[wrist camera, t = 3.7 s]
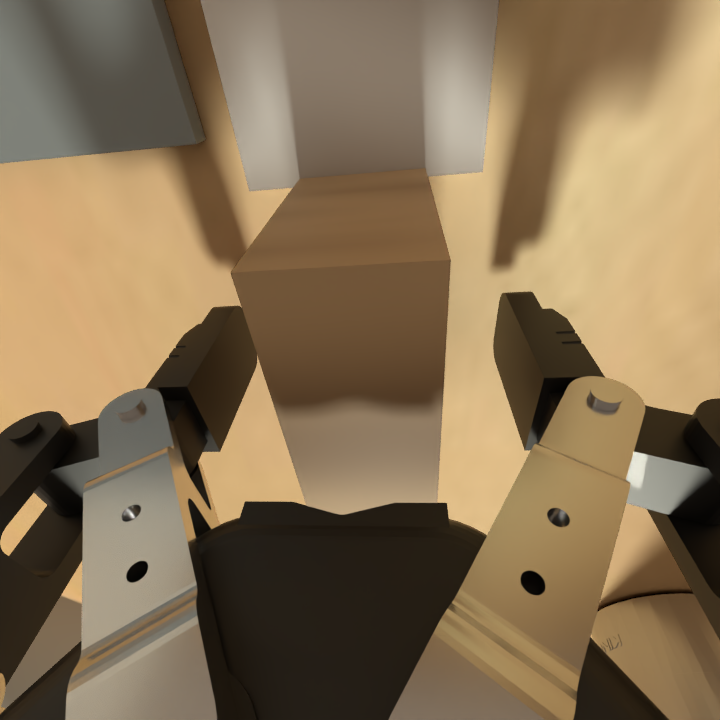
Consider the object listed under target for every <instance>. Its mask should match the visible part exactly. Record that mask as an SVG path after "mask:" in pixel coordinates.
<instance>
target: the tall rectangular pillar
mask: <svg viewBox="0 0 720 720" xmlns="http://www.w3.org/2000/svg"><path fill="white" fill-rule="evenodd" d="M200 1H201V5H202V9H203V13H204V16H205V20H206V24H207V28H208V32H209V36H210V40H211V44H212V48H213V51H214V55H215V59H216V63H217V67H218V71H219V75H220V79H221V83H222V86H223V90H224V94H225V98H226V102H227V106H228V110H229V114H230V118H231V121H232V125H233V129H234V133H235V137H236V141H237V145H238V149H239V153H240V157H241V160H242V164H243V168H244V172H245V176H246V180H247V184H248V188H249V191H259V190H271V189H283V188H292V190H291V191H290V193H289V194H288V195H287V197H286V198H285V199H284V201H283V202H282V203H281V205H280V206H279V208H278V209H277V210H276V212H275V213H274V214H273V216H272V217H271V218H270V220H269V221H268V222H267V224H266V225H265V227H264V228H263V229H262V231H261V232H260V233H259V235H258V236H257V237H256V239H255V240H254V241H253V243H252V244H251V246H250V247H249V248H248V250H247V251H246V252H245V254H244V255H243V256H242V258H241V259H240V261H239V262H238V263H237V265H236V266H235V267H234V269H233V270H232V271H231V276H232V279H233V282H234V285H235V288H236V291H237V294H238V297H239V300H240V303H241V306H242V309H243V312H244V315H245V319H246V322H247V325H248V328H249V331H250V334H251V337H252V340H253V343H254V346H255V349H256V352H257V355H258V358H259V361H260V365H261V368H262V371H263V374H264V377H265V380H266V383H267V386H268V389H269V392H270V395H271V398H272V401H273V404H274V407H275V410H276V414H277V417H278V420H279V423H280V426H281V429H282V432H283V435H284V438H285V441H286V444H287V447H288V450H289V453H290V456H291V460H292V463H293V466H294V469H295V472H296V475H297V478H298V481H299V484H300V487H301V490H302V493H303V496H304V499H305V502H306V505H307V506H309V507H313V508H317V509H320V510H324V511H328V512H331V513H335V514H340V515H344V514H349V513H353V512H358V511H362V510H366V509H370V508H375V507H379V506H383V505H387V504H391V503H437V497H438V479H439V461H440V443H441V425H442V407H443V389H444V371H445V353H446V334H447V316H448V298H449V280H450V262H451V259H450V256H449V252H448V248H447V245H446V241H445V237H444V234H443V230H442V226H441V223H440V219H439V215H438V212H437V208H436V204H435V201H434V197H433V194H432V190H431V186H430V183H429V179H428V176H441V175H453V174H465V173H477V172H483V164H484V154H485V144H486V133H487V123H488V112H489V102H490V91H491V81H492V70H493V60H494V49H495V39H496V29H497V18H498V8H499V0H200Z"/></svg>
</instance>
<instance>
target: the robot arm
mask: <svg viewBox="0 0 720 720" xmlns="http://www.w3.org/2000/svg"><path fill="white" fill-rule="evenodd" d="M493 349H494V358H495V362H496V365H497V368H498V371H499V374H500V377H501V380H502V383H503V386H504V389H505V392H506V395H507V398H508V401H509V404H510V407H511V410H512V413H513V416H514V419H515V422H516V425H517V428H518V431H519V434H520V437H521V440H522V443H523V446H524V449H525V450H531V451H530V453H529V455H528V457H527V459H526V461H525V463H524V465H523V467H522V469H521V471H520V473H519V475H518V476H517V478H516V480H515V482H514V484H513V486H512V488H511V490H510V492H509V494H508V496H507V498H506V500H505V502H504V504H503V506H502V508H501V510H500V512H499V513H498V515H497V517H496V519H495V521H494V523H493V525H492V527H491V529H490V531H489V533H488V535H486V534H484V533H482V532H480V531H478V530H477V529H475V528H473V527H471V526H468V525H466V524H463V523H461V522H458V521H454V520H451V519H449V518H448V510H447V503H391V504H387V505H383V506H379V507H375V508H370V509H366V510H362V511H358V512H353V513H349V514H344V515H340V514H335V513H331V512H328V511H324V510H320V509H317V508H313V507H309V506H306V505H302V504H298V503H295V502H245V504H244V507H243V510H242V513H241V516H240V518H237V519H234V520H231V521H228V522H226V523H223V524H221V525H220V522H219V520H218V517H217V514H216V510H215V507H214V504H213V500H212V497H211V494H210V490H209V487H208V484H207V480H206V477H205V474H204V470H203V467H202V465H201V463H200V462H199V459H200V456H201V454H202V452H220V450H221V448H222V446H223V443H224V441H225V439H226V436H227V434H228V432H229V429H230V427H231V425H232V422H233V420H234V418H235V415H236V413H237V411H238V408H239V406H240V404H241V401H242V399H243V397H244V394H245V392H246V389H247V387H248V385H249V382H250V380H251V378H252V375H253V373H254V371H255V368H256V365H257V352H256V349H255V346H254V343H253V340H252V337H251V334H250V331H249V328H248V325H247V322H246V319H245V315H244V312H243V309H242V308H241V307H240V306H225V307H214V308H212V309H211V311H210V312H209V314H208V315H207V316H206V318H205V319H204V321H203V322H202V324H198V325H196V326H195V327H194V328H192V329H191V330H190V331H188V332H187V333H186V334H184V335H183V337H182V338H181V340H180V341H179V342H178V344H177V345H176V348H174V349H173V351H172V352H171V353H170V355H169V358H167V359H166V360H165V362H164V363H163V364H162V366H161V367H160V368H159V370H158V371H157V373H156V374H155V375H154V377H153V378H152V379H151V381H150V382H149V383H148V385H147V386H146V388H143V389H137V390H133V391H130V392H127V393H125V394H123V395H121V396H119V397H117V398H116V399H114V400H113V401H112V402H110V403H109V404H108V405H107V406H106V407H105V408H104V409H103V410H102V412H101V413H100V415H99V418H97V419H93V420H89V421H85V422H81V423H77V424H73V425H69V424H68V423H67V422H66V421H65V419H64V418H63V417H62V416H61V415H60V414H59V413H57V412H53V411H46V412H40V413H36V414H33V415H30V416H27V417H25V418H23V419H21V420H19V421H17V422H15V423H14V424H12V425H11V426H9V427H8V428H7V429H5V430H4V431H3V432H2V433H1V434H0V539H1V535H2V533H3V531H4V529H5V528H6V526H7V525H8V524H9V522H10V521H11V520H12V519H13V517H14V516H15V515H16V514H17V512H18V511H19V510H20V509H21V507H22V506H23V505H24V504H25V503H26V501H27V500H28V499H29V498H30V496H31V495H32V494H33V493H35V494H36V495H37V496H38V497H39V498H40V499H41V500H43V501H44V502H45V503H46V504H47V507H46V508H45V509H44V511H43V512H42V513H41V515H40V516H39V517H38V519H37V520H36V521H35V523H34V524H33V525H32V526H31V528H30V529H29V530H28V532H27V533H26V534H25V536H24V537H23V538H22V540H21V541H20V542H19V544H18V545H17V546H16V548H15V549H14V550H13V552H12V553H11V554H10V556H7V555H6V554H5V553H4V552H3V551H2V550H1V547H0V720H720V399H711V400H707V401H704V402H702V403H701V404H700V405H699V406H698V407H697V409H696V410H695V412H694V414H693V415H689V414H684V413H679V412H674V411H668V410H663V409H658V408H653V407H649V406H646V405H645V404H644V402H643V400H642V398H641V397H640V396H639V395H638V394H637V393H636V392H635V391H634V390H633V389H631V388H630V387H628V386H627V385H625V384H623V383H621V382H618V381H616V380H613V379H609V378H605V376H604V375H603V373H602V372H601V370H600V369H599V367H598V366H597V364H596V363H595V361H594V359H593V358H592V356H591V355H590V353H589V352H588V350H587V349H586V347H585V346H584V344H582V343H581V339H580V338H579V336H578V335H577V333H575V330H574V329H573V327H572V326H571V324H570V323H569V321H568V319H567V318H565V317H564V316H562V315H561V314H559V313H558V312H556V311H555V310H553V309H542V308H541V306H540V304H539V302H538V301H537V299H536V297H535V296H534V294H533V293H532V292H512V293H502V295H501V297H500V301H499V308H498V314H497V321H496V328H495V335H494V344H493ZM626 503H627V504H631V505H635V506H638V507H642V508H645V509H647V510H648V512H649V514H650V515H651V517H652V519H653V521H654V523H655V524H656V526H657V528H658V530H659V532H660V533H661V535H662V537H663V539H664V541H665V542H666V544H667V546H668V548H669V550H670V552H671V553H672V555H673V557H674V559H675V561H676V562H677V564H678V566H679V568H680V570H681V571H682V573H683V575H684V577H685V579H686V580H687V582H688V584H689V586H690V588H691V589H692V591H693V593H694V594H684V593H681V594H662V595H653V596H645V597H640V598H634V599H630V600H626V601H622V602H619V603H616V604H613V605H610V606H608V607H605V608H603V609H602V610H600V611H598V612H597V610H598V607H599V603H600V599H601V595H602V592H603V588H604V584H605V580H606V577H607V573H608V569H609V565H610V562H611V558H612V554H613V551H614V547H615V543H616V539H617V536H618V532H619V528H620V524H621V521H622V517H623V513H624V509H625V506H626ZM81 561H82V641H81V642H80V643H79V644H77V645H76V646H75V647H74V648H73V649H72V650H71V651H70V652H68V653H67V654H66V655H65V656H64V657H63V658H62V659H61V660H60V661H58V662H57V663H56V664H55V665H54V666H53V667H52V668H51V669H50V670H48V671H47V672H46V673H45V674H44V675H43V676H42V677H41V678H39V679H38V680H37V681H36V682H35V683H34V684H33V685H32V686H31V687H29V688H28V689H27V690H26V691H25V692H24V693H23V694H22V695H21V696H19V698H17V699H16V700H15V701H14V702H13V703H12V704H11V705H10V706H8V707H7V708H6V709H5V708H3V707H1V705H2V702H3V698H4V694H5V687H6V685H7V683H8V682H9V680H10V678H11V677H12V675H13V673H14V672H15V670H16V668H17V667H18V665H19V663H20V662H21V660H22V659H23V657H24V655H25V654H26V652H27V650H28V649H29V647H30V645H31V644H32V642H33V640H34V639H35V637H36V636H37V634H38V632H39V630H40V629H41V627H42V625H43V624H44V622H45V621H46V619H47V617H48V616H49V614H50V612H51V611H52V609H53V607H54V606H55V604H56V602H57V601H58V599H59V598H60V596H61V594H62V593H63V591H64V589H65V588H66V586H67V584H68V583H69V581H70V579H71V578H72V576H73V574H74V573H75V571H76V569H77V568H78V566H79V564H80V563H81ZM591 635H592V637H593V639H592V638H591V637H590V636H591Z"/></svg>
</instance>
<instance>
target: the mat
mask: <svg viewBox="0 0 720 720" xmlns="http://www.w3.org/2000/svg"><path fill="white" fill-rule="evenodd" d="M204 140H206V139H205V135H204V132H203V129H202V125H201V122H200V119H199V115H198V112H197V109H196V105H195V102H194V99H193V95H192V92H191V89H190V85H189V82H188V79H187V75H186V72H185V69H184V65H183V62H182V59H181V55H180V52H179V49H178V45H177V42H176V39H175V35H174V32H173V29H172V25H171V22H170V19H169V15H168V12H167V9H166V5H165V2H164V0H0V163H9V162H19V161H29V160H39V159H50V158H60V157H70V156H80V155H90V154H101V153H111V152H121V151H131V150H141V149H151V148H162V147H172V146H182V145H192V144H198V143H200V142H202V141H204Z"/></svg>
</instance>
